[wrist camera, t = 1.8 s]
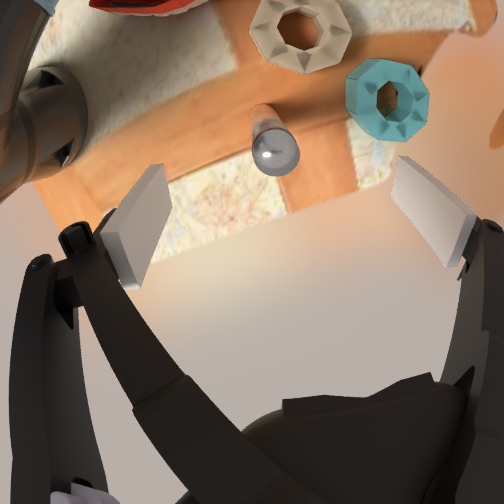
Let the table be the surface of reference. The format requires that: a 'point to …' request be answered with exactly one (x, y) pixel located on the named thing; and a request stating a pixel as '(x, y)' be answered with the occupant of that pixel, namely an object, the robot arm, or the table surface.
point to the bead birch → (303, 62)
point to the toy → (145, 6)
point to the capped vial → (272, 142)
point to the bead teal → (408, 105)
